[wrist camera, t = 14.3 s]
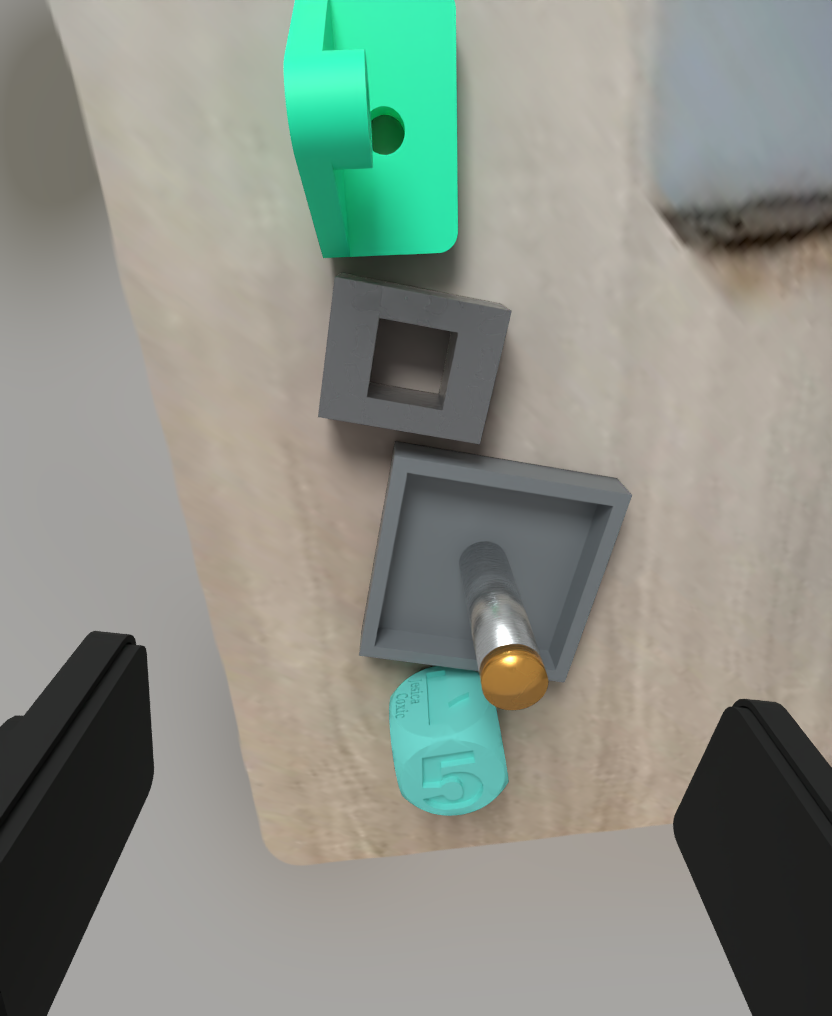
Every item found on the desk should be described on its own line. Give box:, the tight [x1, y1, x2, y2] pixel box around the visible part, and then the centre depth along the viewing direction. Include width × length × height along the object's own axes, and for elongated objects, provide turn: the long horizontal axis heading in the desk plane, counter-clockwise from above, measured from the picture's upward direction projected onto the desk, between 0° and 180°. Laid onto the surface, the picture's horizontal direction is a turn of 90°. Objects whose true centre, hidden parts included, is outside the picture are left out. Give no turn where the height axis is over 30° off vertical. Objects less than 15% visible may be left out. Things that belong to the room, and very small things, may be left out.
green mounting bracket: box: [284, 0, 458, 258], centre depth 29 cm, size 12×8×10 cm, turn 2°
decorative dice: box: [389, 666, 509, 816], centre depth 47 cm, size 8×8×8 cm
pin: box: [459, 541, 548, 710], centre depth 38 cm, size 4×4×13 cm
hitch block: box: [318, 273, 511, 444], centre depth 37 cm, size 10×8×4 cm
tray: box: [359, 441, 632, 682], centre depth 43 cm, size 16×16×3 cm
